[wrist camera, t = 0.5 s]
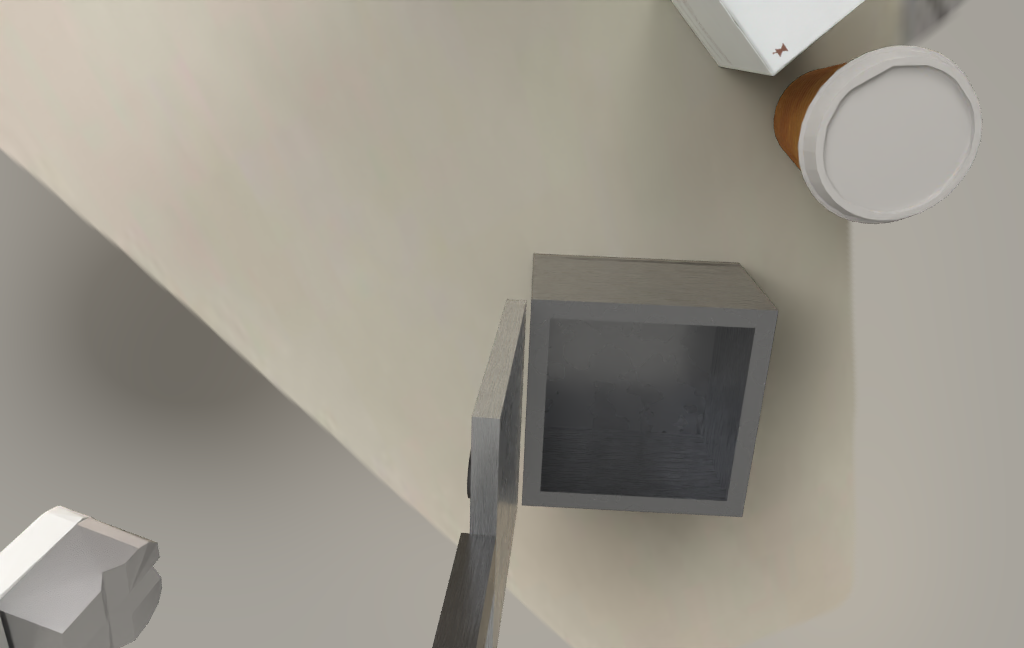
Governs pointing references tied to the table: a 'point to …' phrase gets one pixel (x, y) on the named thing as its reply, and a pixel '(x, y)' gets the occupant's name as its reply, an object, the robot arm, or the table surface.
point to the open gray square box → (644, 384)
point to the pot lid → (489, 496)
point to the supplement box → (761, 29)
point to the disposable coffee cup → (881, 132)
